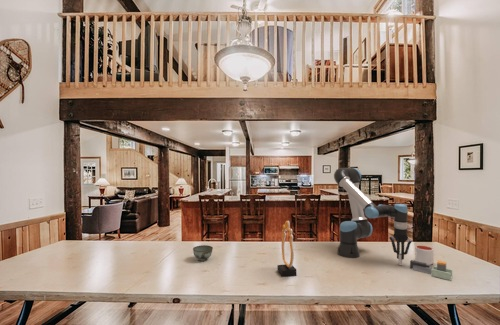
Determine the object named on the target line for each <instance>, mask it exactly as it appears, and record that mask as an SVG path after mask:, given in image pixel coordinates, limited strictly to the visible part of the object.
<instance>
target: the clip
mask: <svg viewBox="0 0 500 325" xmlns="http://www.w3.org/2000/svg"><path fill="white" fill-rule="evenodd" d="M433 266H434V265H426V267H422V266H417V265H413V269H412V270H413V271H414V272H421V273H425V274H429V275H432V269H433Z"/></svg>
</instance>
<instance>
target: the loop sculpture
mask: <svg viewBox="0 0 500 325" xmlns="http://www.w3.org/2000/svg"><path fill="white" fill-rule="evenodd" d="M290 225H291V224H290V220H286V221H285V223H284V224H282V230H281V234H282V238H281V256H282V261H283V263H284V264H277V273H278V274H279V275H280V277H282V278H286V277H287V278H288V277H296V276H297V268H296V267H294V259H295V257H294V256H295V252H294V250H295V249H294V243H293V242H294V235H293V229H292V228H291V226H290ZM287 231H288V237H289V240H288V241H289V247H290V248H289V249H290V260H289V263H288V261H287V258H286V251H285V250H286V249H285V240H286V236H287V233H286V232H287Z"/></svg>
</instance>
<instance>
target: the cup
mask: <svg viewBox="0 0 500 325" xmlns="http://www.w3.org/2000/svg"><path fill="white" fill-rule="evenodd" d="M414 251H415V260H414V261H418V262H423V263H426V265H431V266H433V264H434V248H433V247H430V246H426V245H416V246H415V250H414Z"/></svg>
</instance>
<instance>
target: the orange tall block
mask: <svg viewBox="0 0 500 325" xmlns="http://www.w3.org/2000/svg"><path fill="white" fill-rule="evenodd" d="M436 266H437V270H439V271H444V272H446V269H447V262H446V261H443V260H437V263H436Z"/></svg>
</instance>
